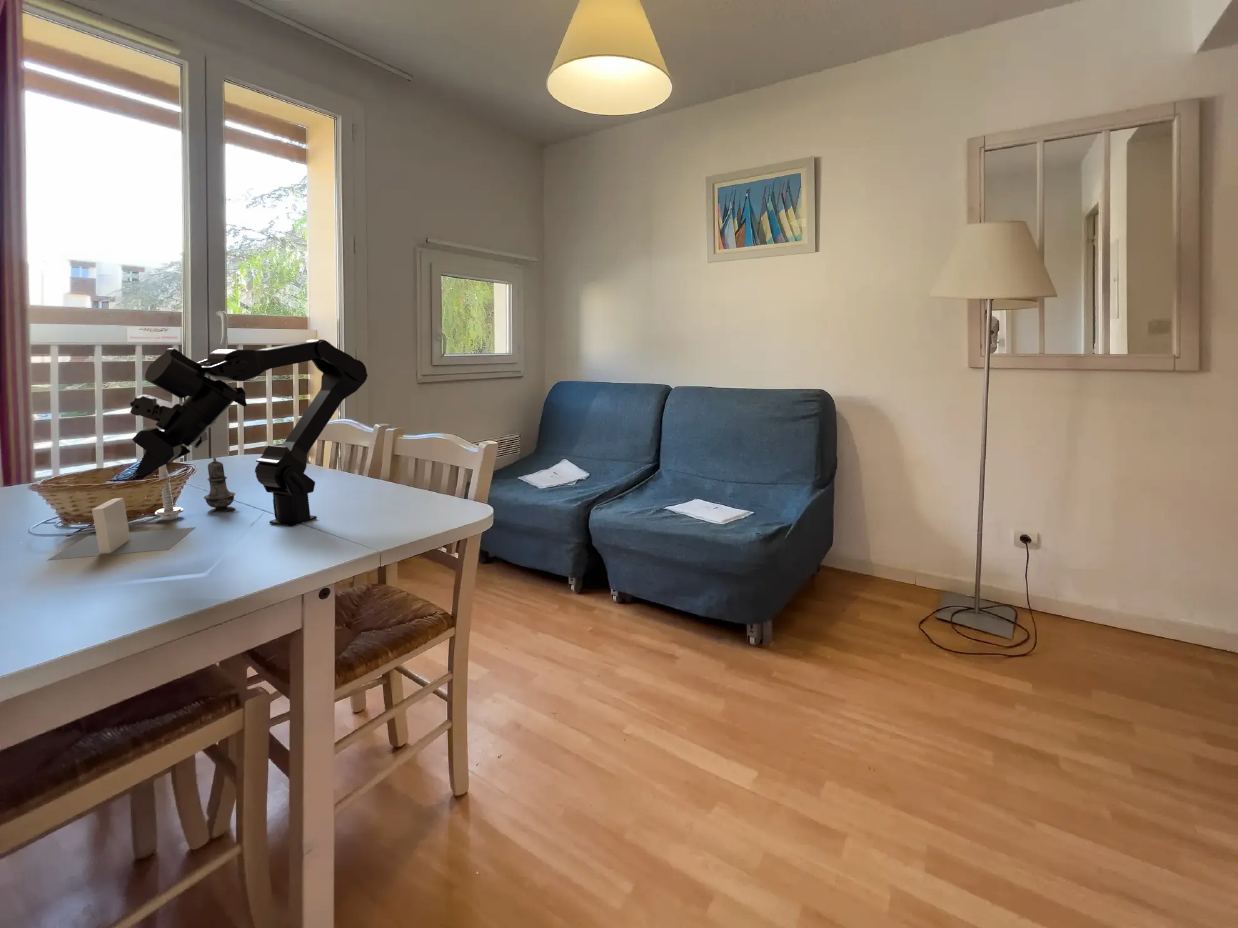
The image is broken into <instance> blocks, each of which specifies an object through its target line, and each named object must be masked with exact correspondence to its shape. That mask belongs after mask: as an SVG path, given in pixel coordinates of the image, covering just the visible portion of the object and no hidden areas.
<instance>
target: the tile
mask: <svg viewBox="0 0 1238 928" xmlns="http://www.w3.org/2000/svg"><path fill="white" fill-rule="evenodd" d="M126 510H127V509H126V505H125V500H124V497H117V498H111V499H110V500H108V501H106V502H103V503H102V504H100V505H98V506H96V507H94V508H92V509H91V512H92V518H93V523H94V524H93V525H94V528H95V529H94V530H95V535H97V541H98V546H99V552H100V554H104V553H111V552H113V551H114V550H116V549H117V548H119V547H120V546H121V545H123V544H124V543H126V542H127V541H129V540H130V533H131V532H130V528H129V522H128V517H127V516H128V515H127V511H126Z"/></svg>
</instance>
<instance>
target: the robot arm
mask: <svg viewBox="0 0 1238 928" xmlns="http://www.w3.org/2000/svg"><path fill="white" fill-rule="evenodd" d="M310 361H311V362H312V363H313V365H314V366H315V368H316V369H317V370H318V371H320V373H322V374H321V381H320V383H321V385H320V386H321V387H320V390H319V391H318V392H317V394H316V395H315V397H314V398H313V399H312V401H311V402H310V404H309V405H308V407H307V408H306V410H305V412H304V413H303V414H302V416H301V417H300V419H298V421H297V423H296V425H295V426H294V427H293V429H292V430H291V431H290V433H289V435H288V436H287V438H286V439H285V440H284V441H283V442H282V443H281V444H279V445H272V444H268V445H267V446H266V447H265V448H264V452H262V455H261V456H260V457H259V458H257V459H256V461H255V462H256V463H257V465H256V467H255V469H254V473H255V477H256V480H257V481H258V483H260V484H261V485H262V486H263V487H264V489H265V491H266V493H270V494H271V493H272V497H273V498H272V502H273V503H272V504H273V513H274V518H275V519H271V520H269V524H272V525H277V526H283V527H285V526H286V527H294V526H297V525H300V524H305V523H307V522H311V521H313V520H317V519H318V516H317V515H311V510H310V501H309V494H311V493H314V491H315V487H316V486H315V485H316V482H315V480H314V479H312V478H311V477H309V476H308V475H307V474H305V472H306V469H307V466H308V465H307V462H308V454H309V452H310V451H311V450H312V447H313V446H314V444H315V443H316V442H317V440H318V439H319V437H320V435H321V434H322V432H323V431H324V429H325V428H326V426H327V425H328V423H329V422H330V420H331V418H332V417H333V416H334V414H335V412H336V411H337V410H338V409H339V407H340V405H341V404H342V402H343V401H344V400H345V399H347V398H348V397H349V396H351V395H353V394H354V393H356V392H357V391H359V389H360V388H362V386H363V385H364V384H365V383H366V381H367V379H368V377H369V374H368V372H367V367H366V365H365V364H364V362H362V361H361V360H360V359H356V358H354V357H353V356H352V355H350V354H348V353H347V352H345V351H343V350H341V349H339V348H337V347H335V346H334V345H333V344H332V343H330V342H329V341H327V340H325V339H307V340H306V341H302V342H295V343H289V344H284V345H277V346H271V347H268V348H267V347H266V348H261V349H216V350H214V351H213V350H212V352H210V353H209V355H208V357H207V358H206V359H203V360H200V361H197V362H196V361H194V360H192V359H191V358H189V357H187V356H186V355H184V354H183V353H182V352H181V351H179V350H177V349H176V348H167V349H166V350H165V351H164V353H162V354H161V355H160V356H158V357H157V358H156V359H155V360H154V361H153V362H152V363H150V364H149V365H148V368H147V369H146V371H145V373H144V374H145V375H144V377H145V378H144V379H145V381H147V382H149V383H150V384H153V385H154V386H156V387H158V388H160V389H162V390H164V391H165V392H168V393H170V394H171V395H172V396H175V397H176V398H179V399H185V398H186V399H185V400H184V401H182V402H180V403H175V404H174V403H172V402H170V401H167V400H164V399H161V398H159V397H156V396H153V395H151V394H139V395H138V394H137V395H135V397H134V400H133V401H131V402H129V403H130V404H129V405H130V407H131V408H130V410H129V413H130V414H131V415H133V416H137V417H138V416H139V417H143V418H146V419H149V420H152V421H156V423H155V426H156V427H147V428H144V429H142V430H139V431H138V432H137V433H136V434H135V436H134V437H133V438H132V442H134V444H136V445H138V446H139V447H141V448H142V449H143V450H145V452H144V455H143V456H142V458H141V461H140V462H139V464H138V466H137V468H136V470H135V472H134V473H135V474H136V475H137V476H139V477H142V476H144V475H146V474H147V475H148V473H151V472H153V471H155V470H157V469H159V467H161V466H163V465H165V464H166V465H168V464H169V463H171V462H173V461H176V460H178V459H179V458H182V457H184V456H186V455H188V454H190V453H191V450H190V449H188V448H187V447H190V446H193V447H194V448H195V449H198V448H200V447H202V446H204V444H205V443H206V442H207V441H208V432H207V430H208V429H209V428H211V427H213V426H214V425H215V424H216V423H217V419H218V418H219V417H221V415H222V414H223V413H224V412H225V411H227V409H228V408H229V407H230V406H231V405H232V404H233V402H235V403H236V404H238V405H240V406H242V407H243V408H244V407H247V406H248V403H247V401H246V393H247V392H246V390H245V389H244V388H243V387H242V386H241V387H233V386H231V385H230V384H228V383H226V382H246V381H248V380H250V379H253V378H255V377H258V376H260V375H262V374H263V373H265V372H266V371H268V370H271V369H274V368H275V369H276V368H280V367H285V366H290V365H291V366H292V365H296V364H300V363H301V364H302V363H305V362H310ZM209 377H213V378H214V379H215V380H213V379H212V378H209ZM160 429H161V430H160Z"/></svg>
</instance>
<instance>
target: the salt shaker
mask: <svg viewBox="0 0 1238 928" xmlns="http://www.w3.org/2000/svg"><path fill="white" fill-rule="evenodd" d="M207 470H208V471H207V473H208V478H207V481H208V482H209V493H208V494H206V495H205V496H203V499H204V500H205V502H206V504H207V505H208V506H209V507H211V509H209V510H208V511H207V513H206V514H219V513H231V512H232V513H233V512H235V511H236V508H235V507H233V506H230V505H231V504H232V503H234V500H235V496H236V493H235V492H232V491H229V489H228V486H227V480H226V479H228V476H225V470H224V464H223V463H222V462H220V461H218V460H217V458H216V457H213V458H212V461H211V462H210V463H208V465H207Z"/></svg>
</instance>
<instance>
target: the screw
mask: <svg viewBox="0 0 1238 928" xmlns="http://www.w3.org/2000/svg"><path fill="white" fill-rule="evenodd" d="M167 469H168V468H167V464H165V465H163V466H161V467H159V468H158V477H159V478H158V480H160V479H166V478H168V477H169V478H170V475H169V472H168V470H167ZM171 486H172V484H171V483H170V482H168V481H167V482H166V483H165V486H164V488H163V489H162V491H161V492H160V493H161V497H162V498H161V499H162V505H163V506H162V507H163V508H159V509H158V510H156V511H155V512H154V515H155V516H158V517H159V516H160V518H161V519H162V520H163V521H172V520H176V519H177V518H179V515H180V514H181V513H182V512H184V508H183V507H181V506H174V503H173V502H174V500H173V495H172V493H173V492H171V491H172V489H171V488H172V487H171Z"/></svg>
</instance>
